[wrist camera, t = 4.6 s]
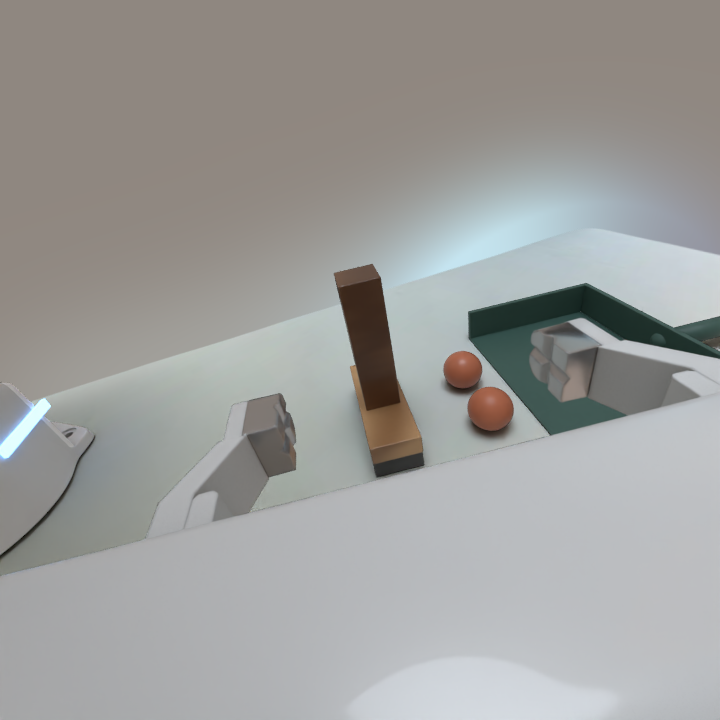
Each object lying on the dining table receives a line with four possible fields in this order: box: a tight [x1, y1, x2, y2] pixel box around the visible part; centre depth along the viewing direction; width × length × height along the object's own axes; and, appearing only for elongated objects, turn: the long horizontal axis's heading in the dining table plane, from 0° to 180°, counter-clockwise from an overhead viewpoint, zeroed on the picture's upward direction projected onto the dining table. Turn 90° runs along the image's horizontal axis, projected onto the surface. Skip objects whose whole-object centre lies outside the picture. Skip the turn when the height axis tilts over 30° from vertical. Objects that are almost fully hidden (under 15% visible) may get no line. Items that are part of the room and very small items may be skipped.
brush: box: [334, 264, 424, 477], centre depth 26 cm, size 4×10×13 cm, turn 9°
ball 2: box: [468, 387, 514, 431], centre depth 26 cm, size 3×3×3 cm
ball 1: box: [443, 351, 482, 388], centre depth 31 cm, size 3×3×3 cm
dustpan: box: [468, 283, 720, 435], centre depth 29 cm, size 21×19×3 cm
